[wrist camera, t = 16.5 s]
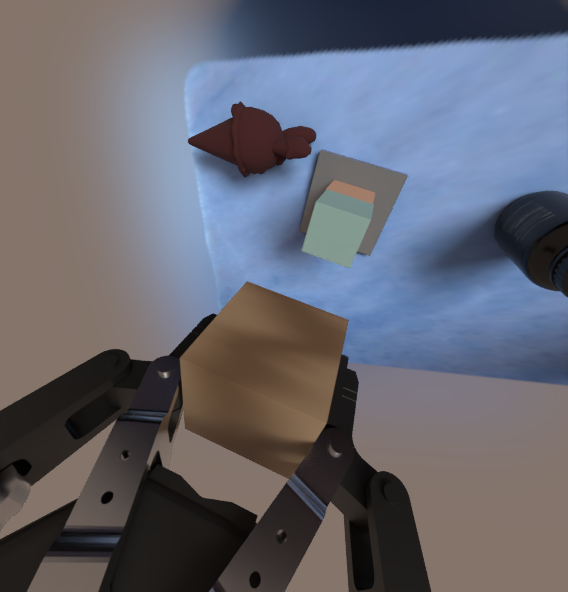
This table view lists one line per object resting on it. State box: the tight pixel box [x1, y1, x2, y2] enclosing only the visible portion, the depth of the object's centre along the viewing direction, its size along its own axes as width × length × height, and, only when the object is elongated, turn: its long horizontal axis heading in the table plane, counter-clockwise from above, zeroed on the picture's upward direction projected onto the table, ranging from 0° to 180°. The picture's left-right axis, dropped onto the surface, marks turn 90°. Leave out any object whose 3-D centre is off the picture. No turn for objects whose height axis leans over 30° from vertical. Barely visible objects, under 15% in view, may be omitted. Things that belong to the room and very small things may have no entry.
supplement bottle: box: [495, 191, 568, 297], centre depth 23 cm, size 7×7×12 cm
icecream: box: [188, 102, 316, 178], centre depth 29 cm, size 7×7×15 cm
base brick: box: [325, 180, 375, 204], centre depth 30 cm, size 5×5×5 cm
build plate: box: [299, 150, 408, 256], centre depth 32 cm, size 10×10×1 cm
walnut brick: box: [180, 282, 349, 479], centre depth 12 cm, size 5×5×5 cm
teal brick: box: [302, 189, 374, 268], centre depth 26 cm, size 5×5×5 cm
